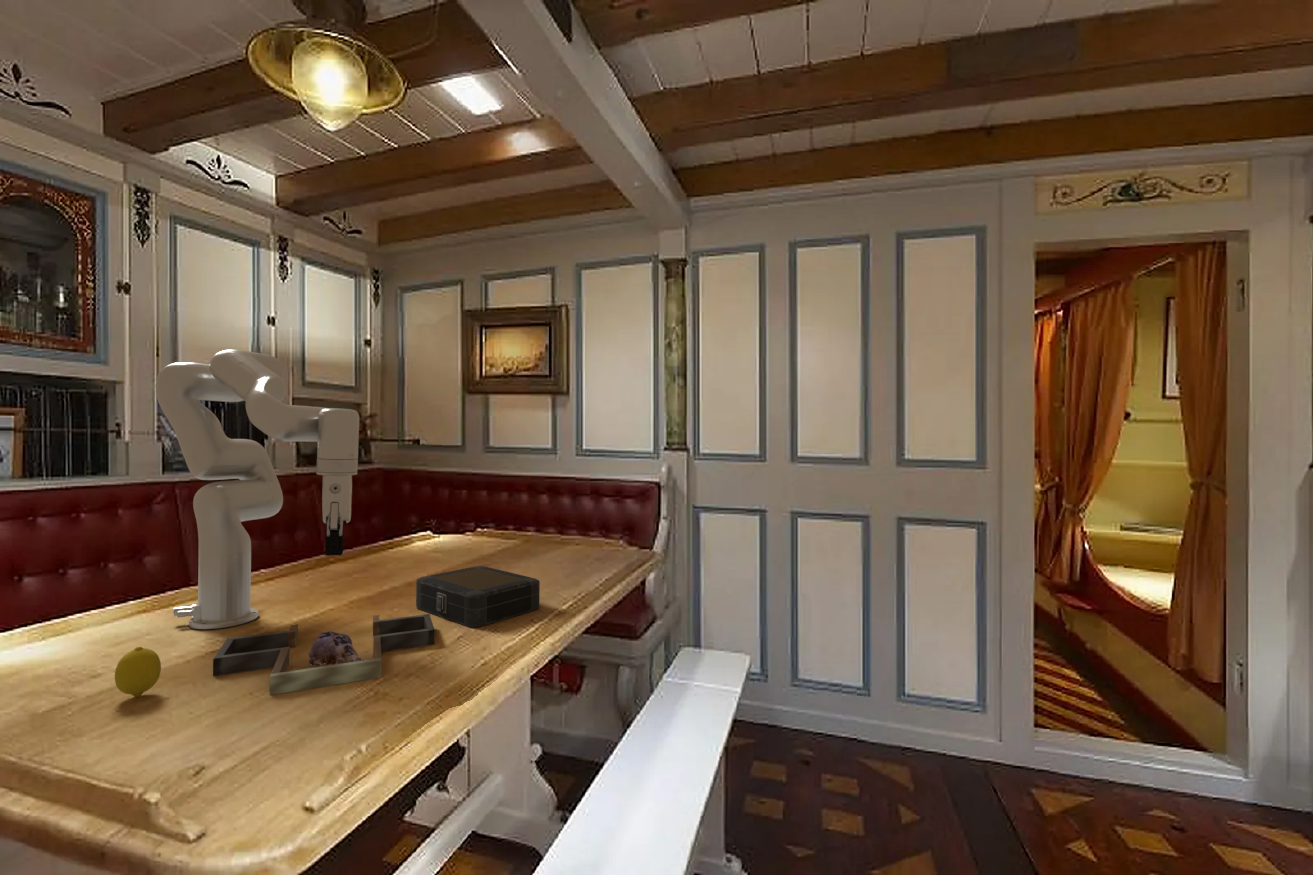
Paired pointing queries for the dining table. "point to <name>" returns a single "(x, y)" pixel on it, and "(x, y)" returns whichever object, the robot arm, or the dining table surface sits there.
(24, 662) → the dining table surface
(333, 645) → the skull
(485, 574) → the cash box
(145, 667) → the lemon
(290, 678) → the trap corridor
